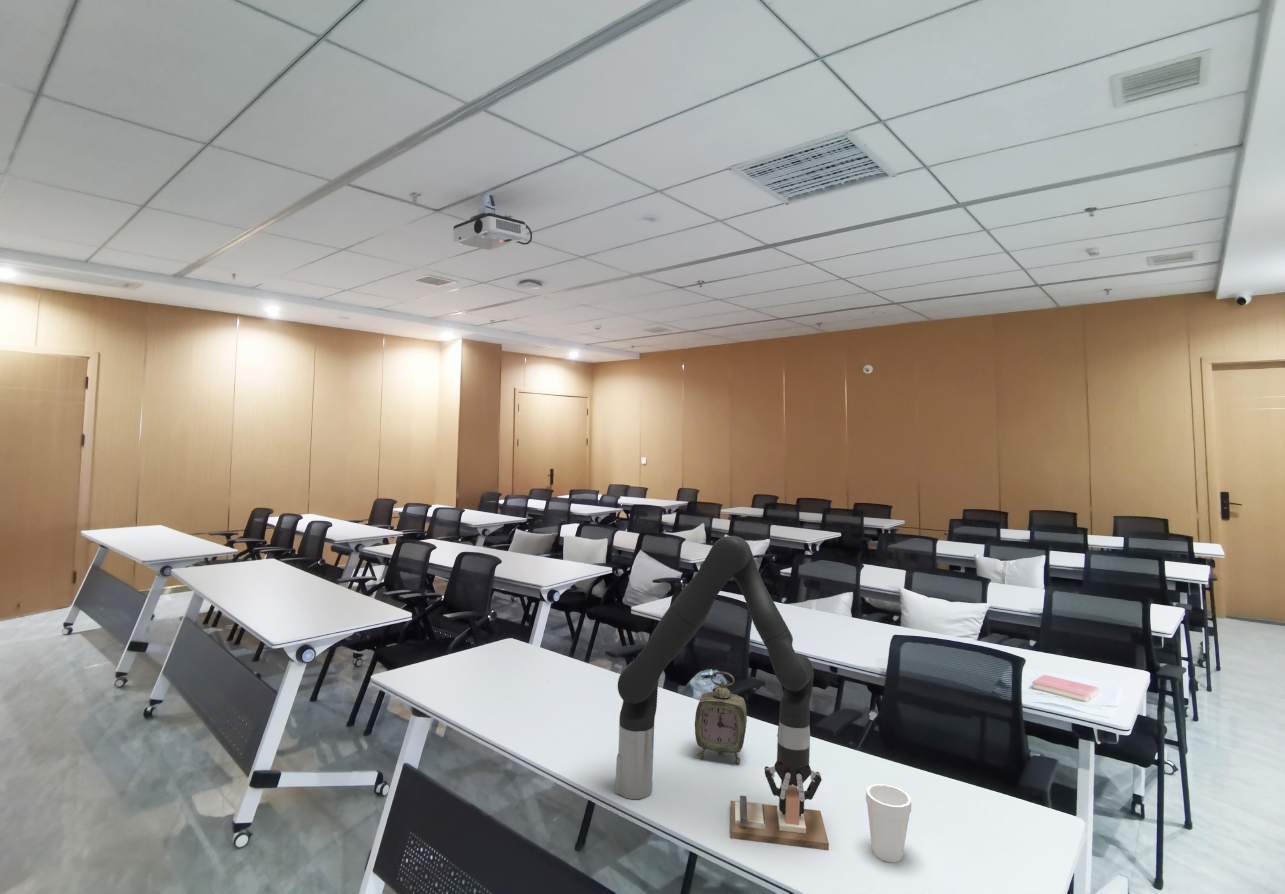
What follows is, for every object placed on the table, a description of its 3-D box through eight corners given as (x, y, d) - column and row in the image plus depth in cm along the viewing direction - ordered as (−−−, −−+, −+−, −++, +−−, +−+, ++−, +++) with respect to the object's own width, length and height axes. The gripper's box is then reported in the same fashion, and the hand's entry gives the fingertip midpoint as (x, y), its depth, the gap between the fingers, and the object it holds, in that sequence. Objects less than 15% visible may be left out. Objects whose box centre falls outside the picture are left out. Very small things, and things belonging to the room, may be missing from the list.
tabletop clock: (693, 759, 177) (696, 673, 177) (698, 745, 186) (700, 663, 186) (743, 767, 174) (746, 679, 174) (746, 752, 182) (748, 669, 183)
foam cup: (898, 840, 142) (899, 784, 143) (917, 866, 133) (919, 807, 133) (858, 839, 142) (859, 783, 142) (874, 866, 133) (876, 806, 133)
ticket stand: (730, 837, 141) (731, 821, 141) (730, 806, 154) (731, 791, 154) (828, 849, 138) (829, 832, 138) (820, 816, 151) (820, 801, 151)
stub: (779, 830, 142) (780, 799, 142) (776, 810, 150) (777, 781, 150) (805, 833, 141) (806, 802, 141) (801, 813, 149) (802, 783, 149)
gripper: (764, 745, 143) (762, 819, 143) (826, 751, 141) (824, 826, 141) (762, 731, 151) (760, 801, 150) (821, 736, 149) (819, 808, 148)
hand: (791, 813), depth 146 cm, fingers closed on stub, 3 cm apart
